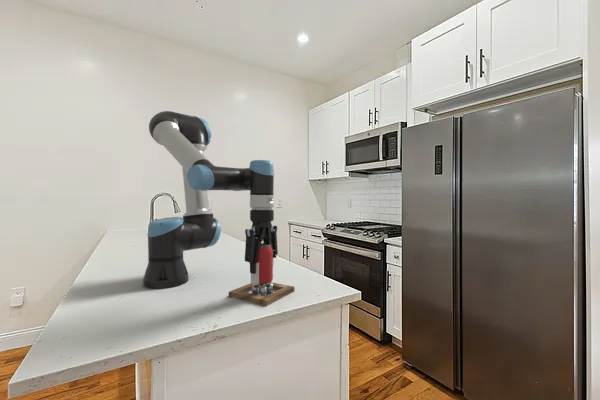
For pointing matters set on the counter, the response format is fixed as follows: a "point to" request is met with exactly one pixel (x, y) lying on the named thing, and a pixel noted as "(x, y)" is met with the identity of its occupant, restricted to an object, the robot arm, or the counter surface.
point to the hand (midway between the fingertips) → (262, 280)
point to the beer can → (265, 263)
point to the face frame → (263, 300)
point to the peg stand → (262, 289)
